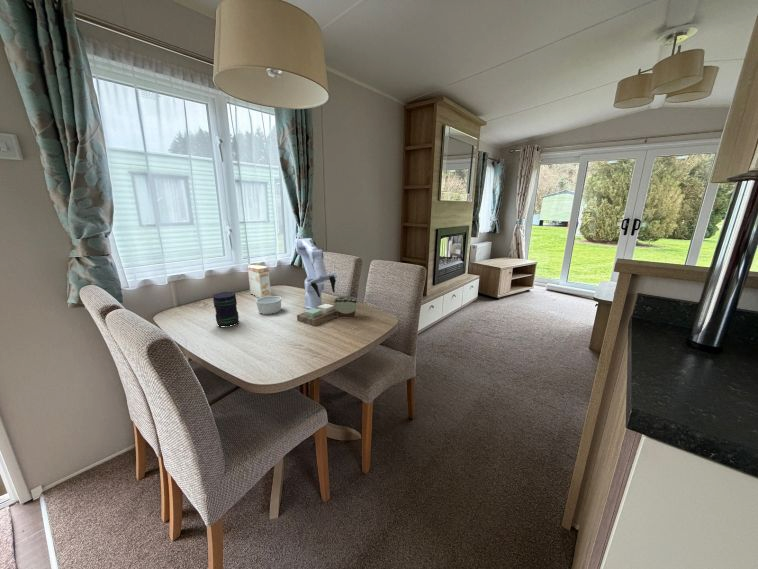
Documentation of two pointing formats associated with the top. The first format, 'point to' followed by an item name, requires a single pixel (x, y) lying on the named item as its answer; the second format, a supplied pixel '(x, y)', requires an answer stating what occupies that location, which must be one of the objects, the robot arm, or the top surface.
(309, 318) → the key console
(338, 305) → the food container
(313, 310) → the sage key
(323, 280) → the robot arm
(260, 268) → the coffeecake box
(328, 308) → the cream key
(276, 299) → the ramekin
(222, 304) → the storage jar
